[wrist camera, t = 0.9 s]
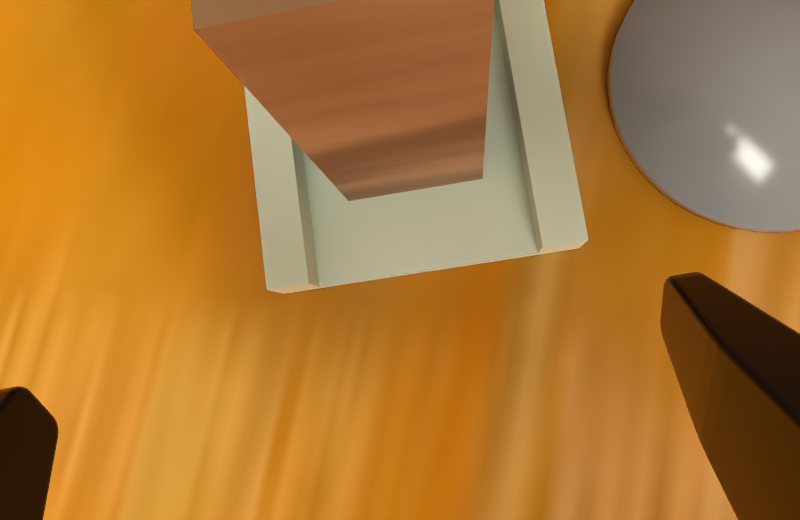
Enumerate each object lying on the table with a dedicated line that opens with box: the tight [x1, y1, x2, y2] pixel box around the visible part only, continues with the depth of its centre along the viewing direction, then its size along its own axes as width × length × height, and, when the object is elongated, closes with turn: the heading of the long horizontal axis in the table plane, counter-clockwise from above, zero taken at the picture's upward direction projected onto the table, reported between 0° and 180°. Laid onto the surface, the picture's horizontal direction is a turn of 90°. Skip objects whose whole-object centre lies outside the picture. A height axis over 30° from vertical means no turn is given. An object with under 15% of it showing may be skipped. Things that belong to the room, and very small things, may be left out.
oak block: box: [191, 0, 494, 201], centre depth 17 cm, size 5×5×13 cm
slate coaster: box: [607, 0, 800, 233], centre depth 22 cm, size 11×11×1 cm
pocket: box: [244, 0, 588, 294], centre depth 23 cm, size 11×11×2 cm
